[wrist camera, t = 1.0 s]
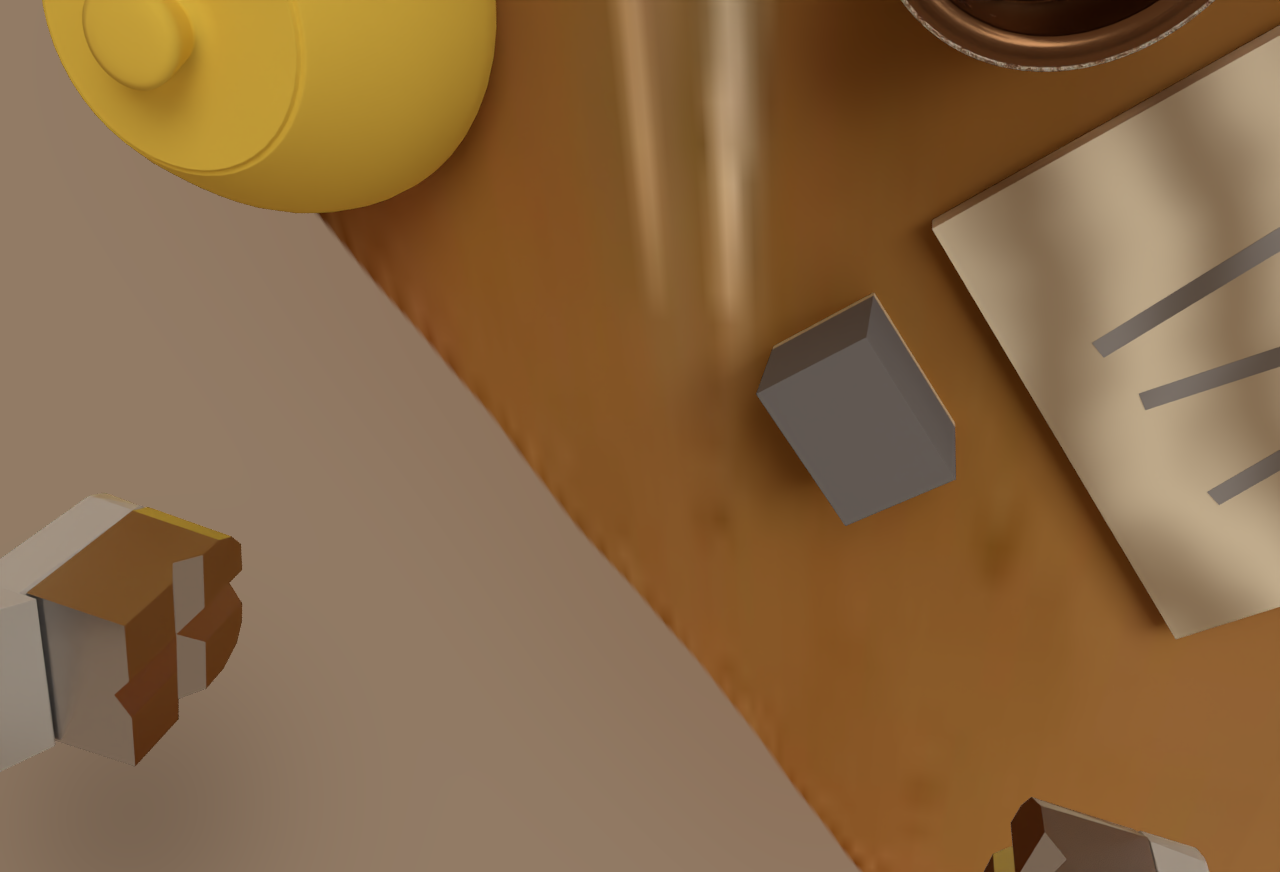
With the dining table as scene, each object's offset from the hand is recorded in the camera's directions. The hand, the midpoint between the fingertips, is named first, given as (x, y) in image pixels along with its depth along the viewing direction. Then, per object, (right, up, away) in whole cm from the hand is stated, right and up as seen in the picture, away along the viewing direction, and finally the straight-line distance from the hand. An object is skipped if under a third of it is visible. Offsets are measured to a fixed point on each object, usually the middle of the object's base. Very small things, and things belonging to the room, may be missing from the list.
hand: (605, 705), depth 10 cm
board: (+25, +6, +30) cm, 39 cm away
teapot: (-13, +23, +32) cm, 41 cm away
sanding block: (+10, +5, +35) cm, 37 cm away
